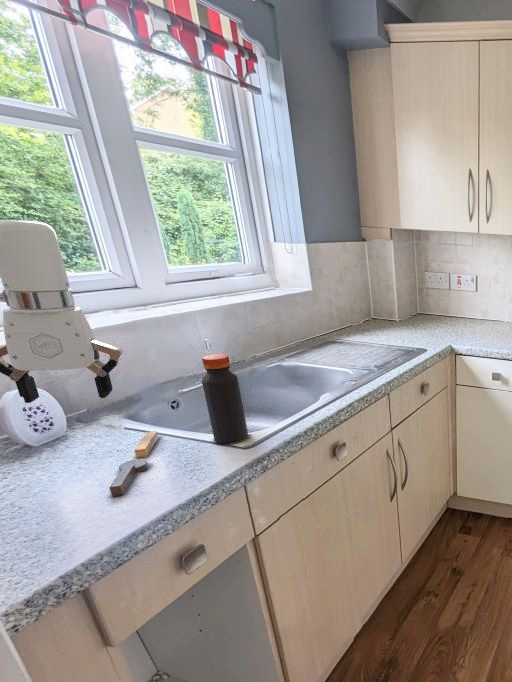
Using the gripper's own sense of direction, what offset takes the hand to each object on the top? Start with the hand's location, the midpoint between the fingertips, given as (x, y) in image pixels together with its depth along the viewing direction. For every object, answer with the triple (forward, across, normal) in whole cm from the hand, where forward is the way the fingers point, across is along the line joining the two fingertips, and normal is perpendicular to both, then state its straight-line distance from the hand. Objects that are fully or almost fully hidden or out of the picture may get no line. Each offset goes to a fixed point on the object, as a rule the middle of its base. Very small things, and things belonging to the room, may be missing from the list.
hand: (69, 398), depth 80 cm
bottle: (+17, +21, +14) cm, 31 cm away
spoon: (+18, +5, 0) cm, 18 cm away
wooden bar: (+18, +5, +15) cm, 24 cm away
